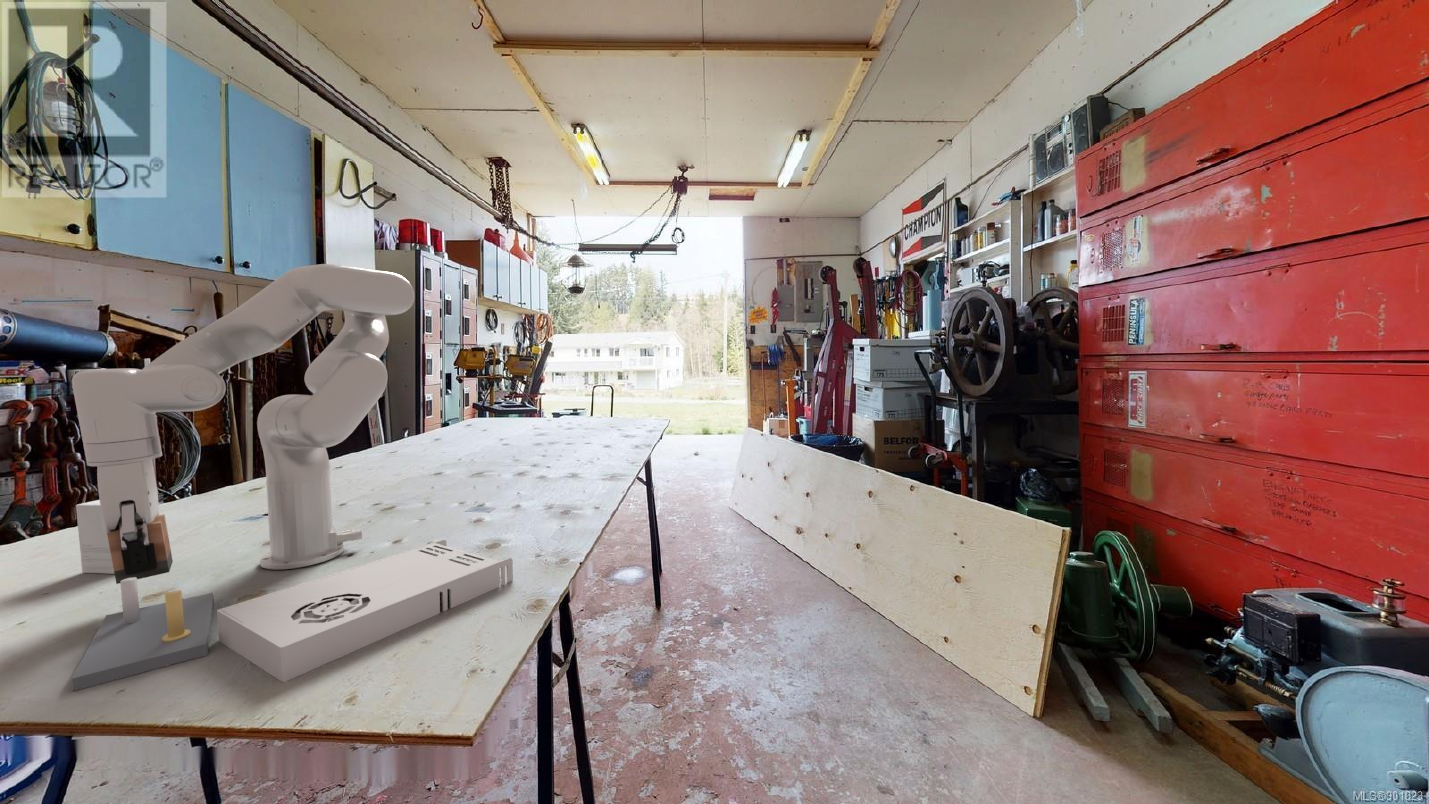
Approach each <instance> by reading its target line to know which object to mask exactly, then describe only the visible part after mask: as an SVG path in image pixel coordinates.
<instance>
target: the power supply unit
mask: <svg viewBox="0 0 1429 804" xmlns="http://www.w3.org/2000/svg"><path fill="white" fill-rule="evenodd" d="M513 563H514V562H513V559H512V557H507V558H505V559H502V560H496V559H493V558H489V557H486V556H482V555H478V554H475V553H471V552H469V551H468V552H467V551H465V550H461V549H458V548H457V549H456V548H455V547H450V546H447V540H446V539H440V540H437V541H434V542H431V543H427V544H424V545H421V546H417V547H415V548H411V549H408V550H405V551H401V552H399V553H396V554H392V555H389V556H385V557H383V558H379V559H377V560H373V561H369V562H366V563H363V564H360V565H357V566H354V567H350V568H347V569H344V570H341V571H338V572H334V573H331V574H328V575H324V576H322V577H318V578H316V579H311V580H309V581H305V582H303V583H299V584H296V585H293V586H290V587H286V588H283V589H279V590H277V591H273V592H270V593H268V594H264V595H261V596H257V597H253V598H251V599H248V600H245V601H242V602H239V603H235V604H232V605H229V606H225V607H223V608H219V609H217V610H216V612H217V628H218V629H217V630H218V642H220V643H221V644H223V645H225V646H226V647H228V648H229V649H230V650H232V651H234V652H235V653H237V654H238V655H240V656H241V657H244V658H245V659H246V660H248V661H250V663H253V664H254V665H255V666H257V667H259V668H260V669H262V670H263V671H265V672H267V673H268V674H269V675H271V676H273V677H274V678H276V679H277V680H279V681H281V682H282V683H283V682H287V681H289V680H290V681H291V680H292V679H294V678H297V677H298V676H301V675H304V674H305V673H308V672H310V671H312V670H315V669H317V668H319V667H322V666H324V665H326V664H327V663H331V662H332V661H335V660H337V659H340V658H341V657H344V656H346V655H348V654H351V653H353V652H355V651H357V650H359V649H363V648H365V647H366V646H369V645H371V644H373V643H376V642H378V641H380V640H382V639H385V638H387V637H389V636H392V635H394V634H397V633H398V632H400V631H402V630H405V629H407V628H409V627H411V626H415V625H416V624H418V623H421V622H424V621H426V620H427V619H430V618H432V617H435V616H436V615H439V614H441V610H442V612H445V611H448V606H449V608H450V609H453V608H454V607H457V606H459V605H462V604H464V603H466V602H468V601H471V600H472V599H475V598H478V597H479V596H482V595H484V594H486V593H489V592H491V591H493V590H495V589H497V588H500V587H499V586H504V584H505V585H506V583H507V582H509V583H511V582H513V581H514V575H513V574H514V572H513V571H514V570H513V565H514V564H513ZM512 580H513V581H512ZM510 581H511V582H510ZM448 596H449V598H448ZM440 598H441V599H440ZM448 600H449V601H448ZM448 602H449V603H448ZM440 604H441V605H440ZM448 604H449V605H448Z"/></svg>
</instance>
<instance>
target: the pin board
mask: <svg viewBox="0 0 1429 804" xmlns="http://www.w3.org/2000/svg"><path fill="white" fill-rule="evenodd" d="M120 582H121V583H120V590H121V591H120V592H121V602H122V603H121V604H122V611H120V612H116V613H112V614H106V615H105V617H104V619H103V620H102V623H101V624H100V626H99V628H98V629H97V632H96V633H95V635H94V637H93V639H92V640H91V643H90V644H89V646H88V648H87V650H86V652H85V653H84V656H83V657H82V659H81V661H80V663H79V665H78V666H77V668H76V670H75V672H74V674H73V676H72V677H71V688H72V692H74V691H78V690H82V689H85V688H89V687H93V686H96V685H101V684H104V683H107V682H108V681H109V682H112V681H116V680H118V679H117V678H120V679H123V678H126V677H130V676H133V675H134V674H135V675H137V674H141V673H145V672H144V671H146V672H149V671H153V670H156V669H159V668H163V667H167V666H171V664H172V665H174V663H175V664H178V663H183V662H186V661H189V660H193V659H197V658H200V657H205V656H207V655H208V653H207V652H209V646H210V645H209V643H210V637H211V636H210V635H211V629H212V622H213V621H212V620H213V612H214V605H215V596H214V592H210V593H205V594H200V595H196V596H195V595H194V596H191V597H185V598H183V593H182V591H183V590H180V589H179V590H178V589H177V590H176V589H175V590H172V591H169V592H166V593H165V594H164V598H165V599H164V600H165V602H164V603H157V604H153V605H150V606H149V605H147V606H143V607H140V603H139V602H140V600H139V599H140V598H139V589H138V587H139V586H138V579H137V578H136V577H133V578H127V579H124V580H121V581H120ZM122 677H123V678H122ZM115 679H116V680H115ZM111 680H112V681H111ZM109 682H108V683H109Z"/></svg>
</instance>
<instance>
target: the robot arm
mask: <svg viewBox="0 0 1429 804" xmlns="http://www.w3.org/2000/svg"><path fill="white" fill-rule="evenodd" d="M414 301H415V291H414V288H413V286H412V284H411V283H410V281H409V280H407V279H406V278H405V277H404V276H403V275H401V274H398V273H395V272H390V271H384V270H377V269H376V270H375V269H368V268H360V267H354V266H349V265H348V266H347V265H346V266H345V265H340V264H332V263H331V264H329V263H321V264H313V265H305V266H298V267H295V268H291V269H290V270H287V271H285V272H284V274H282V275H280V276H279V277H278V278H277V279H275V280H274V281H271V283H269V284H268V285H266V286H265V287H264V288H263V289H261V290H260V291H259V292H257V293H256V294H254V295H253V296H252V297H251V298H249V299H248V300H246V301H245V302H244V303H242V304H241V305H239V306H238V307H236V308H235V309H234V310H233V311H231V312H229V313H228V314H225V315H224V316H222V317H220V318H218V319H216V320H215V321H213V322H212V323H210V324H208V325H206V326H205V327H202V328H201V329H199V330H198V331H196V332H194V333H193V334H190V335H189V336H188V337H186V338H184V339H182V340H180V341H179V342H178V343H176V344H175V345H173V346H172V347H170V348H168V349H167V350H166V351H165V352H164V353H162V354H161V355H159V356H158V357H156V358H155V359H154V360H152V361H151V362H150V363H148V364H147V365H146V366H145V367H143V368H141V369H139V368H129V367H128V368H126V367H125V368H124V367H123V368H122V367H121V368H102V369H101V368H98V369H88V370H87V369H86V370H81V371H78V372H77V373H75V374H74V375H73V377H72V379H71V385H72V391H73V396H74V402H75V406H76V412H77V417H78V422H79V428H80V429H79V430H80V433H81V440H82V443H83V444H82V445H83V449H84V455H85V460H86V461H85V462H86V466H87V467H88V466H89V467H97V470H96V472H97V473H96V475H97V477H96V478H97V489H98V497H99V499H98V500H100V507H101V514H102V523H103V530H104V531H105V532H108V533H109V532H112V531H113V530H114V529H115V528H116V527H117V526H118V524H119V529H120V538H121V547H122V549H121V553H122V558H123V564H124V569H125V574H126V575H131V574H136V573H140V572H145V571H149V570H154V569H156V567H157V561H156V556H155V550H154V544H153V543H150V536H149V529H148V527H149V526H148V525H150V524H151V523H152V522H153V521H154V520H155V518H156V516H157V514H158V511H159V509H160V507H159V505H160V504H159V495H158V494H159V493H158V486H157V480H156V474H155V467H154V464H153V463H154V462H153V460H154V459H159V458H161V457H162V456H163V452H162V444H161V438H160V435H159V434H160V433H159V428H158V422H157V421H158V419H157V415H156V414H157V413H163V412H196V411H197V412H198V411H202V410H203V411H204V410H206V409H209V408H211V407H214V406H215V405H217V404H218V403H220V401H221V400H222V399H223V398H224V396H225V394H226V389H227V388H226V387H227V386H226V382H225V380H224V379H223V377H222V376H221V375H220V374H222V373H223V372H225V371H227V370H228V369H230V368H232V367H234V366H235V365H237V364H239V363H242V362H244V361H246V360H249V359H253V358H255V357H258V356H261V355H264V354H266V353H269V352H272V351H274V350H276V349H278V348H280V347H282V346H283V345H284V344H286V342H287V341H288V340H290V339H291V338H292V337H293V336H295V335H296V334H297V333H298V332H299V331H300V330H301V329H303V328H304V327H306V326H307V325H308V324H309V323H310V322H311V321H313V320H314V319H315V318H316V317H317V316H318V315H320V314H321V313H323V312H325V311H343V314H344V323H343V326H342V328H341V330H340V332H339V333H338V334H337V335H336V337H334V339H333V340H332V341H331V342H330V343H329V344H328V345H327V346H326V347H325V348H324V350H323V351H321V352H320V354H319V355H318V356H317V357H316V358H315V359H314V360H313V361H312V362H311V363H310V364H309V366H308V367H307V369H306V371H305V372H304V373H305V374H304V383H305V386H306V387H307V389H308V390H309V392H311V393H313V394H311V395H310V394H284V395H280V396H277V397H275V398H273V399H270V400H269V401H267V402H266V404H264V406H262V408H261V409H260V411H259V413H258V416H257V419H256V420H257V421H256V425H257V432H258V437H259V439H260V440H259V441H260V445H261V448H262V451H263V458H264V466H265V467H264V468H265V479H266V480H265V481H266V498H267V499H266V500H267V516H268V530H269V531H268V532H269V533H268V534H269V549H270V552H268V553H266V554H264V555H263V556H262V557H260V559H259V565H260V567H261V568H264V569H267V570H274V571H275V570H279V571H280V570H292V569H300V568H303V567H304V568H305V567H309V566H313V565H317V564H320V563H324V562H327V561H329V560H332V559H334V558H336V557H338V556H340V555H341V554H342V553H343V552H344V543H345V542H350V541H351V542H352V541H358V540H362V539H363V531H362V529H356V530H353V529H347V530H343V531H338V530H336V528H335V527H334V526H333V508H332V507H333V506H332V487H331V466H330V465H331V464H330V459H329V454H328V450H327V448H330V447H334V446H336V445H338V444H340V443H343V442H344V441H345V440H346V439H347V438H348V437H349V436H350V435H351V434H352V433H354V431H355V430H356V429H357V427H358V426H359V425H360V424H361V422H362V421H363V420H364V418H365V417H366V416H367V415H368V414H369V413H370V411H371V410H372V409H373V408H374V406H375V404H377V402H378V401H379V399H380V398H381V397H382V395H383V394H384V392H385V390H386V389H387V388H386V387H387V385H388V377H389V376H388V370H387V367H386V365H385V364H384V363H383V361H382V360H381V359H380V358H381V357H382V356H383V354H384V352H385V351H386V349H387V347H388V344H389V341H390V334H389V333H390V332H389V327H388V321H387V319H386V316H394V315H395V316H396V315H401V314H403V313H405V312H407V311H408V310H410V309H411V307H413V305H414ZM140 521H143V525H137V526H136V522H140ZM141 529H142V531H143V533H141V531H139V532H137V530H141ZM142 534H143V536H142Z"/></svg>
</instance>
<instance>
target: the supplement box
mask: <svg viewBox="0 0 1429 804" xmlns="http://www.w3.org/2000/svg"><path fill="white" fill-rule="evenodd" d="M75 508H76V509H75V510H76V519H77V520H76V521H77V531H78V539H79V549H80V550H79V551H80V561H81V562H80V563H81V573H83V574H111V575H115V574H114V568H113V563H112V558H111V552H110V547H109V541H108V536H107V532H105V531H104V530H103V523H102V514H101V507H100V499H96V500H92V501H87V502H83V503H78V504H76V505H75ZM157 515H160V513H159V511H158V514H157Z"/></svg>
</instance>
